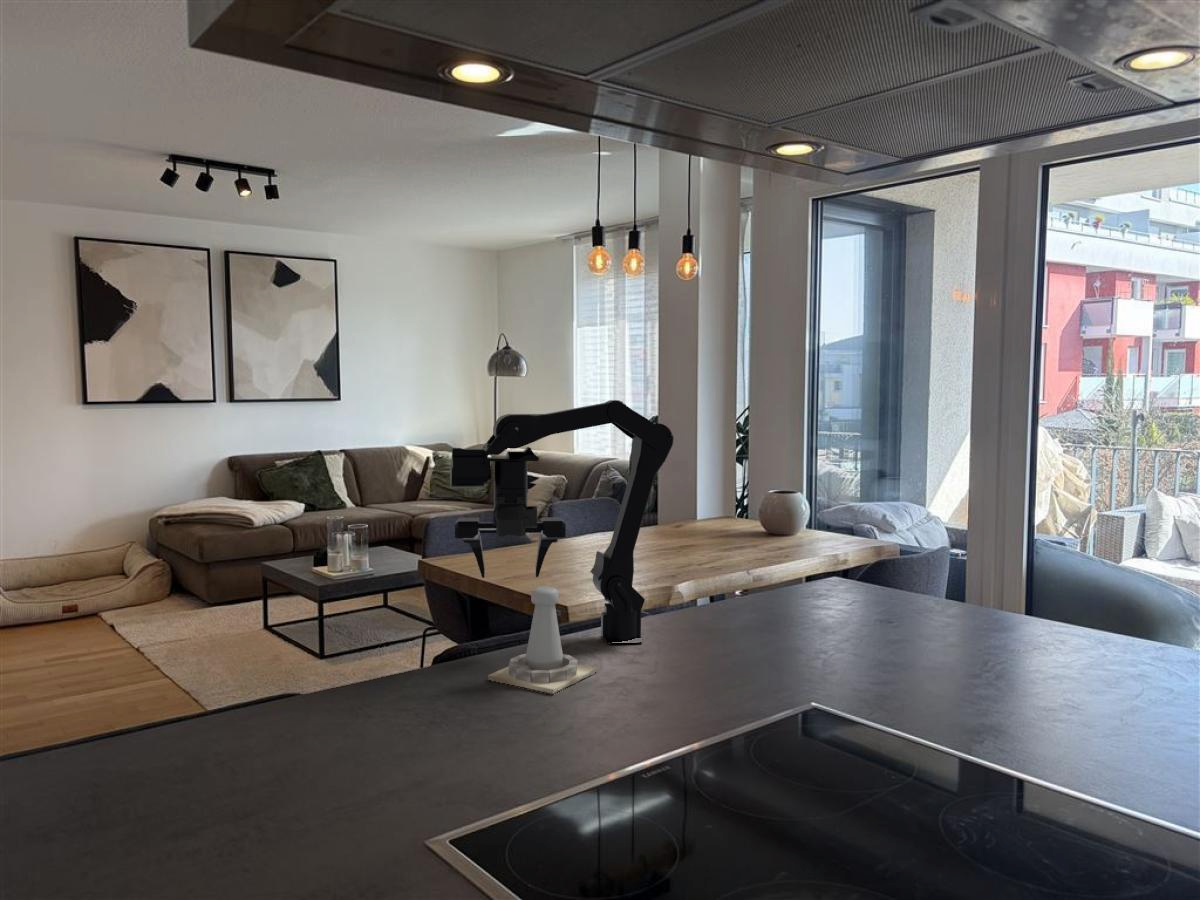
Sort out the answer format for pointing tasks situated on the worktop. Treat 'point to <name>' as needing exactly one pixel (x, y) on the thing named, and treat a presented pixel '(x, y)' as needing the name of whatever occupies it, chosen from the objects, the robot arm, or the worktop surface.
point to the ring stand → (541, 674)
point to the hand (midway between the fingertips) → (510, 577)
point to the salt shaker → (544, 631)
